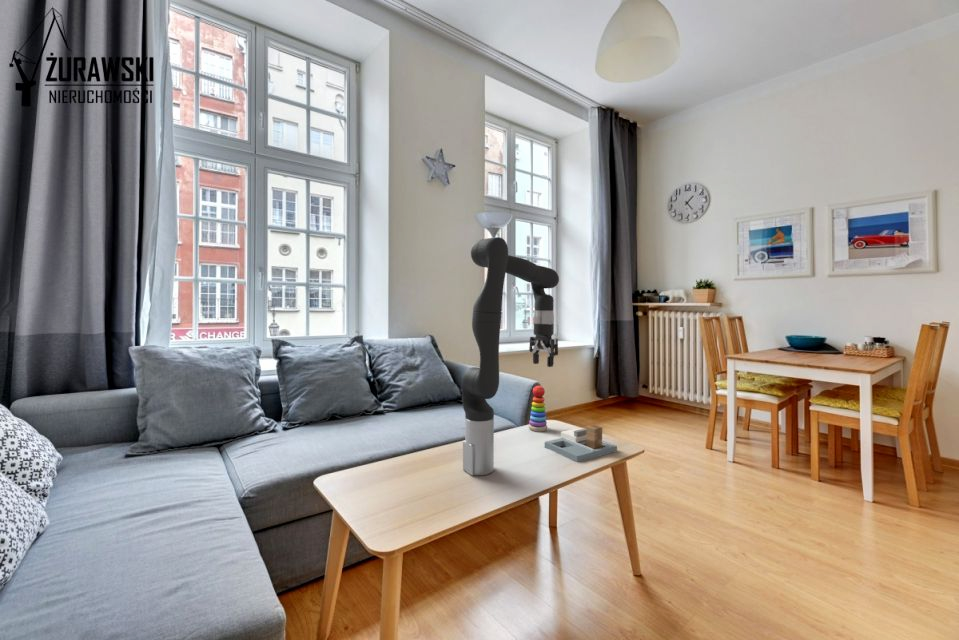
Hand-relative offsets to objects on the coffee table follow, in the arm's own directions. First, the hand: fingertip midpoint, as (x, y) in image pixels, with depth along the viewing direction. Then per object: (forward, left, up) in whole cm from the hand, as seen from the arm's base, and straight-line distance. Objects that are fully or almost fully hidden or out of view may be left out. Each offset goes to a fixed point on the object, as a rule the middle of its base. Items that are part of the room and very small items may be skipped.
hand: (542, 365), depth 156 cm
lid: (+12, -5, -28) cm, 31 cm away
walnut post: (+12, -15, -31) cm, 36 cm away
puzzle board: (+9, -11, -31) cm, 34 cm away
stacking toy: (+11, +16, -31) cm, 37 cm away
